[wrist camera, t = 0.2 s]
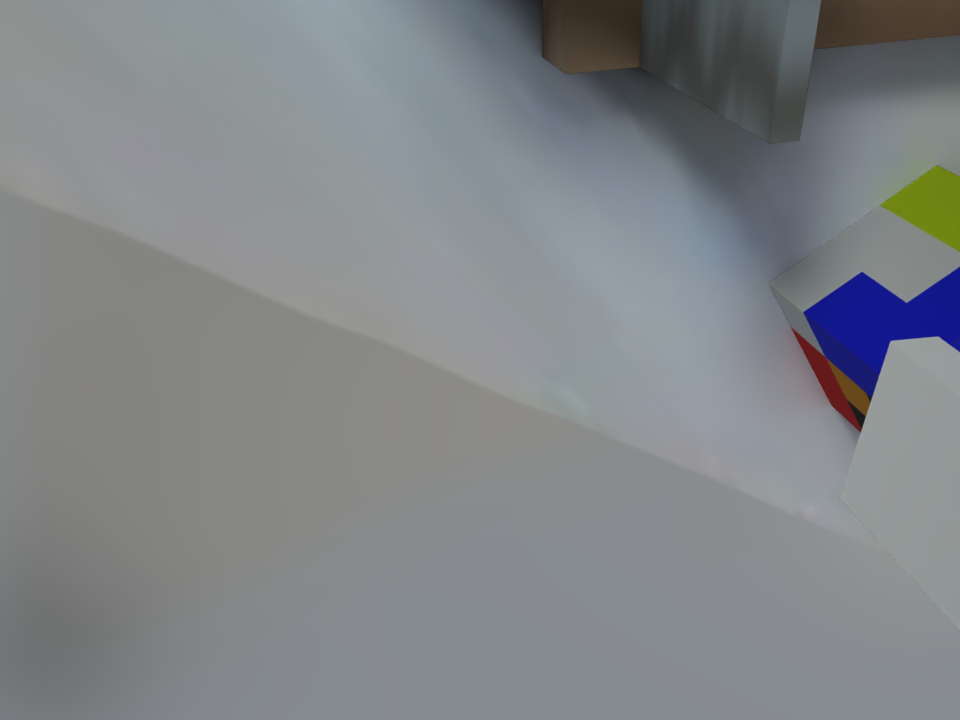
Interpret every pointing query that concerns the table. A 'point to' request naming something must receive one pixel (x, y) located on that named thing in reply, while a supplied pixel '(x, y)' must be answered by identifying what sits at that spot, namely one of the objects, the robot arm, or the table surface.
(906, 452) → the robot arm
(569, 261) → the table surface
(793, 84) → the book rack
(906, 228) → the puzzle toy
